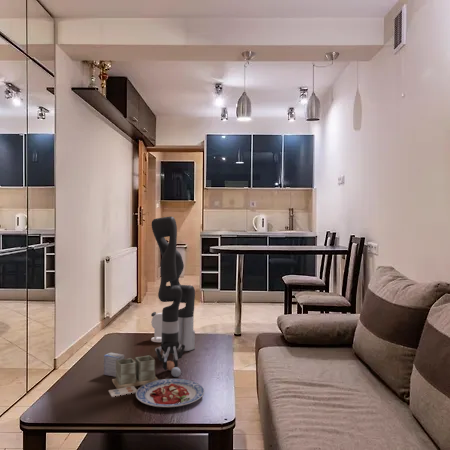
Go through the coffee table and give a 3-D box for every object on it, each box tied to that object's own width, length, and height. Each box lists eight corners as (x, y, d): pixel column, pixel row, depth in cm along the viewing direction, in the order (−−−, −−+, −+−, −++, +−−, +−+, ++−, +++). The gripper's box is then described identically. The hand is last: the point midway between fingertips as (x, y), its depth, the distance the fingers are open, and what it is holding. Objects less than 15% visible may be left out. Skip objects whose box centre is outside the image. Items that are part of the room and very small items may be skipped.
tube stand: (152, 374, 180) (152, 354, 180) (158, 382, 172) (158, 360, 172) (112, 381, 173) (112, 359, 173) (117, 389, 165) (117, 366, 165)
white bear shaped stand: (174, 337, 240) (174, 311, 240) (169, 342, 229) (170, 315, 229) (153, 336, 241) (154, 310, 241) (148, 341, 230) (148, 314, 230)
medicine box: (124, 374, 181) (125, 354, 181) (118, 378, 177) (118, 357, 177) (110, 371, 184) (110, 352, 184) (103, 375, 180) (103, 354, 180)
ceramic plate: (124, 393, 161) (124, 386, 161) (182, 379, 177) (182, 372, 176) (155, 419, 140) (155, 410, 140) (217, 400, 156) (217, 392, 156)
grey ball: (178, 374, 181) (178, 365, 181) (181, 377, 178) (182, 368, 178) (169, 375, 179) (169, 366, 179) (173, 379, 176) (173, 369, 176)
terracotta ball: (172, 367, 189) (172, 358, 188) (175, 370, 185) (175, 361, 185) (164, 369, 187) (164, 360, 187) (167, 372, 183) (167, 362, 183)
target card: (133, 386, 167) (133, 385, 167) (137, 392, 162) (137, 391, 162) (108, 391, 163) (108, 390, 163) (111, 397, 157) (111, 395, 157)
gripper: (181, 326, 192) (181, 363, 192) (152, 330, 186) (151, 368, 186) (188, 330, 186) (188, 369, 186) (157, 334, 179) (157, 374, 179)
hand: (170, 368), depth 186 cm, fingers closed on terracotta ball, 4 cm apart
